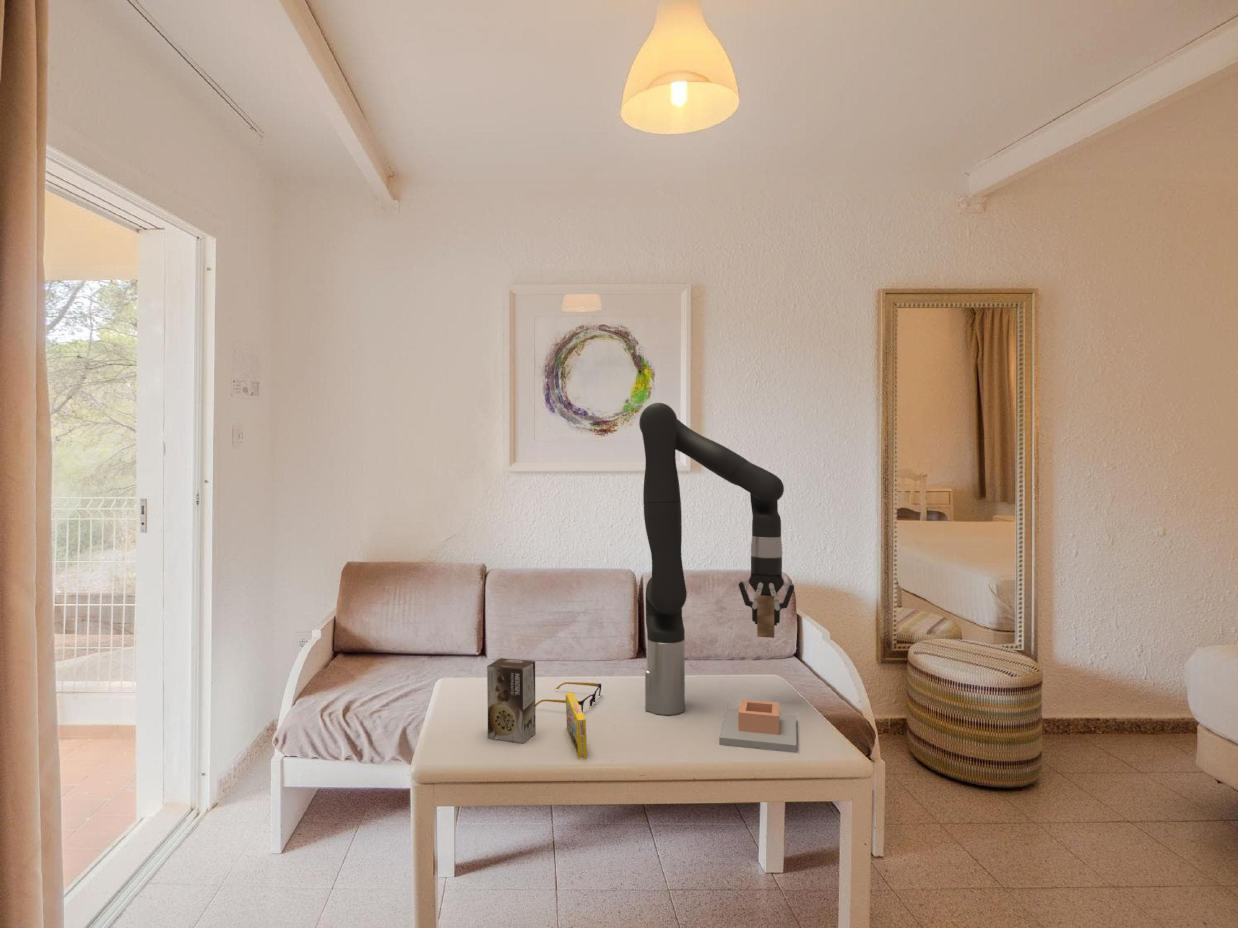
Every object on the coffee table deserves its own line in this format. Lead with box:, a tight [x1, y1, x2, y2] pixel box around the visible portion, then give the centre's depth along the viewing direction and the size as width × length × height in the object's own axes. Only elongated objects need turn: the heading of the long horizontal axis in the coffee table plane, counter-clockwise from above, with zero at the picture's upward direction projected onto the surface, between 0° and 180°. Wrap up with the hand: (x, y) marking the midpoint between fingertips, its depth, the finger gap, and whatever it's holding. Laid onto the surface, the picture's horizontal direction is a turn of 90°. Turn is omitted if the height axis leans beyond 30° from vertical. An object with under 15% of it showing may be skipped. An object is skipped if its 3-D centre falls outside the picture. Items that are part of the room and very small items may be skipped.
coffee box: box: [486, 657, 537, 744], centre depth 145 cm, size 9×6×16 cm
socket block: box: [718, 699, 798, 753], centre depth 147 cm, size 16×18×6 cm
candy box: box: [565, 692, 588, 760], centre depth 141 cm, size 16×2×8 cm, turn 13°
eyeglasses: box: [535, 681, 602, 712], centre depth 166 cm, size 14×14×4 cm
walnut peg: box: [756, 595, 775, 639], centre depth 161 cm, size 4×4×10 cm
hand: (766, 623), depth 161 cm, fingers closed on walnut peg, 4 cm apart
